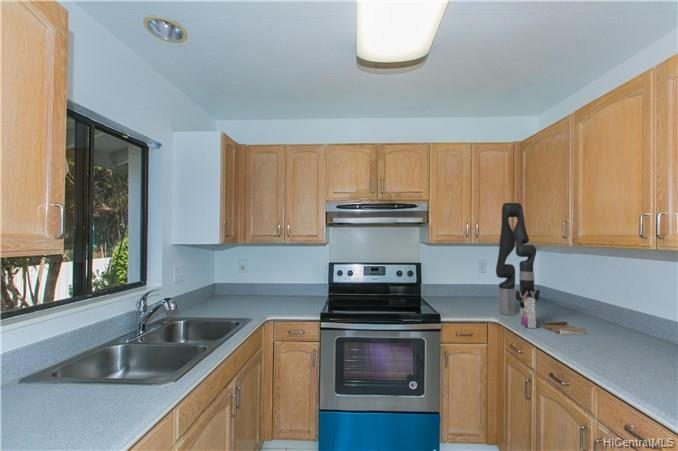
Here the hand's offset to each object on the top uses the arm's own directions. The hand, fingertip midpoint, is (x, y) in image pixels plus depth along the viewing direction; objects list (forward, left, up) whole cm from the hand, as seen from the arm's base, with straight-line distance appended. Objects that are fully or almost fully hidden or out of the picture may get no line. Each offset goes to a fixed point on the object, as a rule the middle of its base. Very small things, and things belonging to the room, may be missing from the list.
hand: (527, 307), depth 189 cm
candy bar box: (0, 0, -11) cm, 11 cm away
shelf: (+11, +13, -11) cm, 20 cm away
